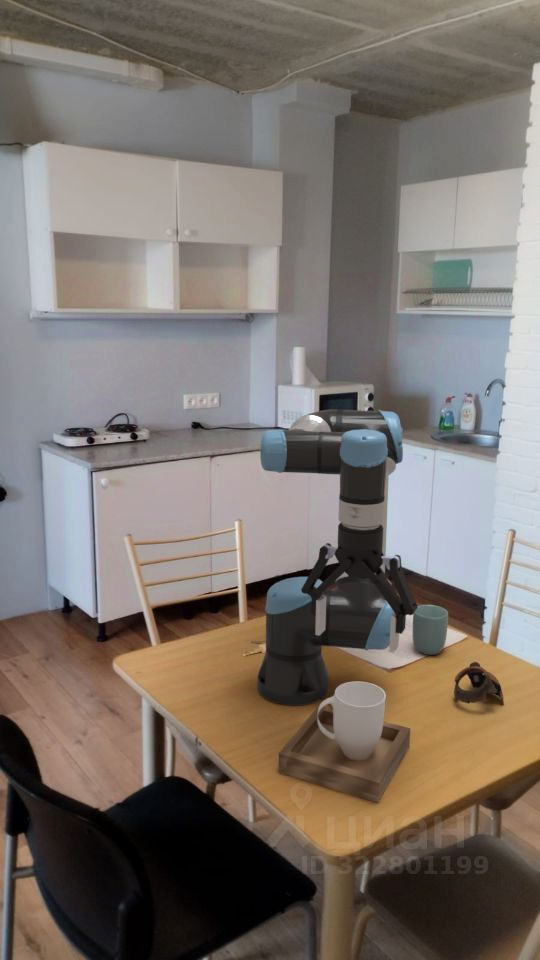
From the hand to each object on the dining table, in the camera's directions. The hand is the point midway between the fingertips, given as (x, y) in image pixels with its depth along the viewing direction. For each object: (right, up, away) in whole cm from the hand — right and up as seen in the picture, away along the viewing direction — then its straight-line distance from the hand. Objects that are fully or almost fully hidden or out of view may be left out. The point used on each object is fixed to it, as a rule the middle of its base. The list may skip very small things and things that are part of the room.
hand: (356, 640), depth 132 cm
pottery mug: (+28, -17, +24) cm, 41 cm away
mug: (-1, -21, +3) cm, 21 cm away
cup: (+22, -12, +45) cm, 52 cm away
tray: (-1, -22, +3) cm, 22 cm away
